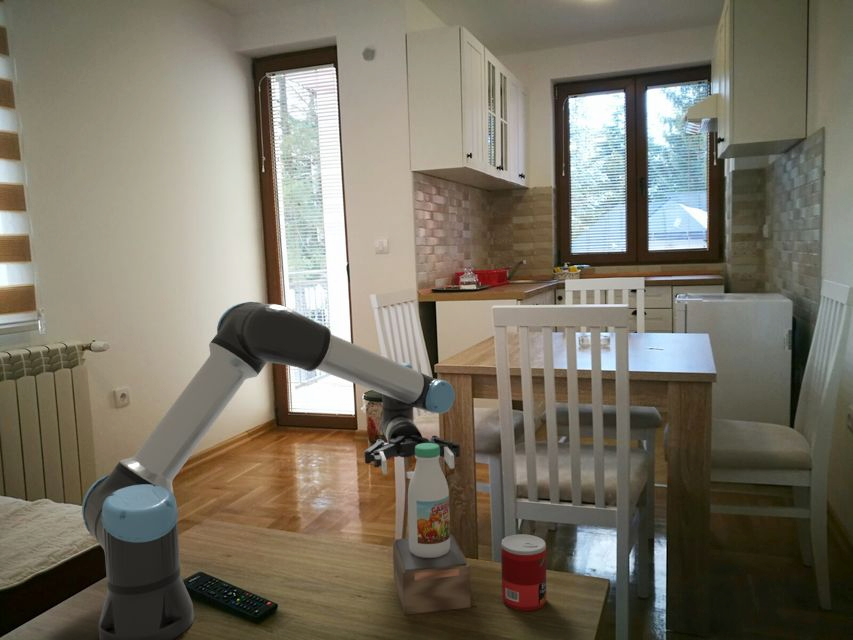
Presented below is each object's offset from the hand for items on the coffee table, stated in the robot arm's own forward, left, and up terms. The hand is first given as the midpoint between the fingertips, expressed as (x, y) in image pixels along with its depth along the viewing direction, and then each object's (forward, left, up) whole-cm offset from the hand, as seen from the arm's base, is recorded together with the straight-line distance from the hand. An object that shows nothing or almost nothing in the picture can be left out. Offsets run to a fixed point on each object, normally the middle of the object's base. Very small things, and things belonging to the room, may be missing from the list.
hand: (419, 464), depth 133 cm
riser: (0, -10, -21) cm, 24 cm away
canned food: (+16, -17, -22) cm, 32 cm away
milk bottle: (0, -10, -14) cm, 17 cm away
